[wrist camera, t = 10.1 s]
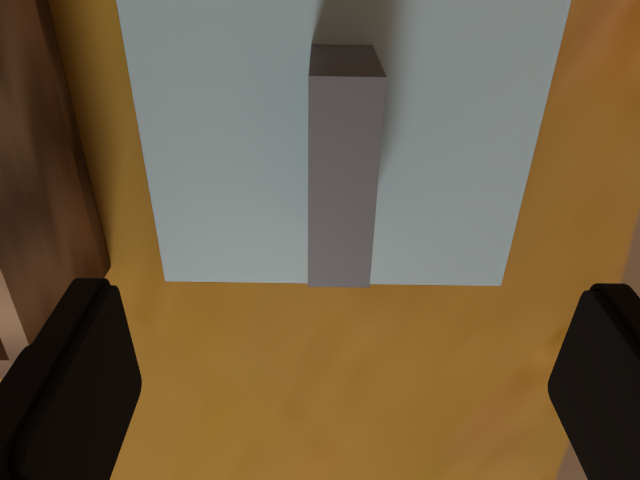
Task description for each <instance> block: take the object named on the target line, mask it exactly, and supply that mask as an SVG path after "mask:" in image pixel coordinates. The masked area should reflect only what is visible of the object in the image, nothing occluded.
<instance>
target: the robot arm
mask: <svg viewBox="0 0 640 480" xmlns="http://www.w3.org/2000/svg"><path fill="white" fill-rule="evenodd" d="M141 385H142V380H141V374H140V370H139V366H138V362H137V359H136V355H135V351H134V347H133V343H132V339H131V335H130V331H129V327H128V323H127V319H126V315H125V311H124V307H123V304H122V300H121V296H120V292H119V289H118V287H117V286H115V285H110V283H109V281H108V280H107V279H106V278H76V279H74V280H73V281H72V282H71V284H70V285H69V287H68V288H67V290H66V291H65V293H64V295H63V296H62V298H61V299H60V301H59V302H58V304H57V305H56V307H55V308H54V310H53V312H52V313H51V315H50V316H49V318H48V319H47V321H46V322H45V324H44V326H43V327H42V329H41V330H40V332H39V333H38V335H37V336H36V338H35V340H34V341H33V343H32V344H30V345H28V346H26V347H25V348H24V349H23V350H22V351H21V353H20V354H19V355H18V357H17V358H16V360H15V361H14V363H13V364H12V366H11V367H10V369H9V370H8V372H7V373H6V375H5V377H4V378H3V380H2V381H1V383H0V480H110V477H111V474H112V471H113V468H114V466H115V463H116V460H117V457H118V454H119V452H120V449H121V446H122V443H123V440H124V438H125V435H126V432H127V429H128V427H129V424H130V421H131V418H132V415H133V413H134V410H135V407H136V404H137V401H138V399H139V396H140V392H141ZM548 393H549V397H550V399H551V402H552V404H553V406H554V408H555V410H556V412H557V414H558V417H559V419H560V421H561V423H562V425H563V427H564V429H565V432H566V434H567V436H568V438H569V440H570V442H571V444H572V446H573V449H574V451H575V453H576V455H577V457H578V459H579V461H580V463H581V466H582V468H583V470H584V472H585V474H586V476H587V478H588V480H640V298H639V297H638V296H637V294H636V293H635V292H634V291H633V290H632V288H631V287H630V286H628V285H626V284H606V283H597V284H594V285H593V286H591V288H590V290H587V291H584V292H583V293H582V295H581V297H580V300H579V302H578V305H577V308H576V310H575V313H574V315H573V318H572V321H571V323H570V326H569V328H568V331H567V334H566V336H565V339H564V341H563V344H562V347H561V349H560V352H559V354H558V357H557V360H556V362H555V365H554V367H553V370H552V373H551V375H550V378H549V381H548Z"/></svg>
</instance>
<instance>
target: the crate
mask: <svg viewBox="0 0 640 480" xmlns="http://www.w3.org/2000/svg"><path fill="white" fill-rule="evenodd" d="M109 269H110V263H109V259H108V255H107V250H106V246H105V242H104V238H103V234H102V229H101V225H100V221H99V217H98V213H97V208H96V204H95V200H94V196H93V191H92V187H91V183H90V179H89V175H88V170H87V166H86V162H85V158H84V154H83V149H82V145H81V141H80V137H79V132H78V128H77V124H76V120H75V116H74V111H73V107H72V103H71V99H70V95H69V90H68V86H67V82H66V78H65V73H64V69H63V65H62V61H61V57H60V52H59V48H58V44H57V40H56V35H55V31H54V27H53V23H52V19H51V14H50V10H49V6H48V2H47V0H0V378H4V377H5V375H6V373H7V372H8V370H9V369H10V367H11V366H12V364H13V363H14V361H15V360H16V358H17V357H18V355H19V354H20V353H21V351H22V350H23V349H24V348H25V347H26V346H28V345H30V344H32V343H33V341H34V340H35V338H36V336H37V335H38V333H39V332H40V330H41V329H42V327H43V326H44V324H45V322H46V321H47V319H48V318H49V316H50V315H51V313H52V312H53V310H54V308H55V307H56V305H57V304H58V302H59V301H60V299H61V298H62V296H63V295H64V293H65V291H66V290H67V288H68V287H69V285H70V284H71V282H72V281H73V280H74V279H76V278H104V277H105V276H106V274H107V272H108V271H109Z"/></svg>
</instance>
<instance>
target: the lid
mask: <svg viewBox="0 0 640 480" xmlns="http://www.w3.org/2000/svg"><path fill="white" fill-rule="evenodd" d="M116 2H117V7H118V13H119V19H120V25H121V30H122V36H123V42H124V48H125V53H126V59H127V65H128V70H129V76H130V82H131V88H132V93H133V99H134V105H135V111H136V116H137V122H138V128H139V133H140V139H141V145H142V151H143V156H144V162H145V168H146V174H147V179H148V185H149V191H150V196H151V202H152V208H153V214H154V219H155V225H156V231H157V237H158V242H159V248H160V254H161V260H162V265H163V271H164V277H165V281H190V282H262V283H308V287H370V284H407V285H479V286H501V283H502V279H503V275H504V271H505V267H506V263H507V259H508V255H509V251H510V247H511V243H512V239H513V235H514V231H515V227H516V223H517V219H518V215H519V210H520V206H521V202H522V198H523V194H524V190H525V186H526V182H527V178H528V174H529V170H530V166H531V162H532V158H533V154H534V150H535V146H536V142H537V138H538V133H539V129H540V125H541V121H542V117H543V113H544V109H545V105H546V101H547V97H548V93H549V89H550V85H551V81H552V77H553V73H554V69H555V65H556V60H557V56H558V52H559V48H560V44H561V40H562V36H563V32H564V28H565V24H566V20H567V16H568V12H569V8H570V4H571V0H116Z"/></svg>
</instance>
